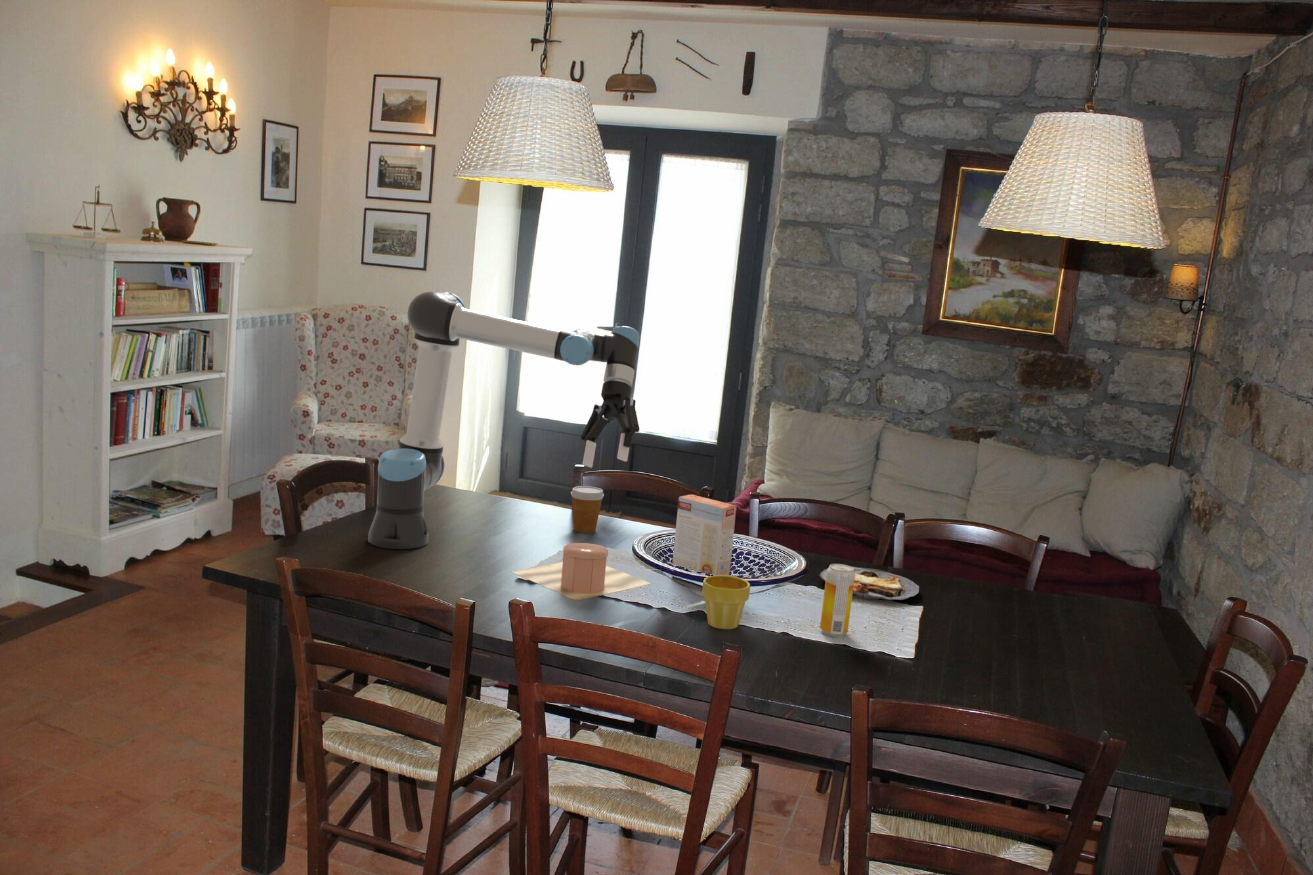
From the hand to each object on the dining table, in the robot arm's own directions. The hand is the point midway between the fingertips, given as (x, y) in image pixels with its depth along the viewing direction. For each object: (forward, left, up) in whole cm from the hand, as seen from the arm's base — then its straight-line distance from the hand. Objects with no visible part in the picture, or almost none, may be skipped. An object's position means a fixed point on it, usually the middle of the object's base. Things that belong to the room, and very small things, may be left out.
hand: (604, 463), depth 249 cm
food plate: (+50, +49, -27) cm, 75 cm away
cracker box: (+24, +13, -27) cm, 38 cm away
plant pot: (+47, -5, -27) cm, 54 cm away
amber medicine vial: (+64, +13, -27) cm, 71 cm away
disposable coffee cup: (-26, +19, -27) cm, 42 cm away
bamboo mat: (+8, -12, -26) cm, 30 cm away
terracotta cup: (+13, -16, -26) cm, 33 cm away
